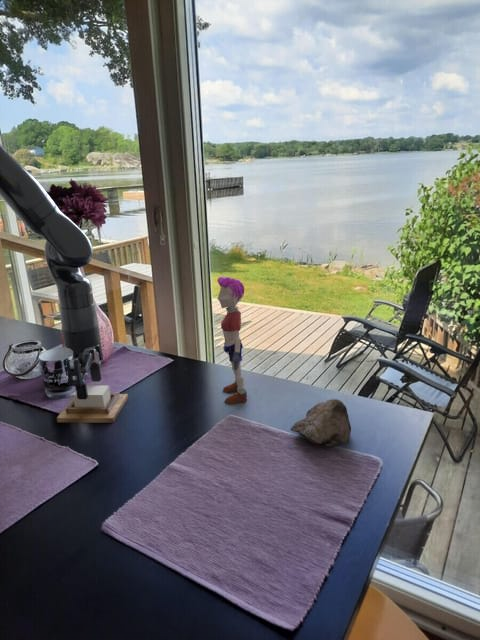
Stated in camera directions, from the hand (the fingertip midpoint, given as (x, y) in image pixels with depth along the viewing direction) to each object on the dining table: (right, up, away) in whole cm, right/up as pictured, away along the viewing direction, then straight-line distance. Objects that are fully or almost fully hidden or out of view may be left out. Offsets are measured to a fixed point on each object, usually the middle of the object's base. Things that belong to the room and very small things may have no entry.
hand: (90, 389), depth 103 cm
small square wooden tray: (0, -5, +2) cm, 5 cm away
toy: (+34, -3, +6) cm, 34 cm away
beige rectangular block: (0, -4, +1) cm, 4 cm away
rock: (+52, -8, -11) cm, 53 cm away
